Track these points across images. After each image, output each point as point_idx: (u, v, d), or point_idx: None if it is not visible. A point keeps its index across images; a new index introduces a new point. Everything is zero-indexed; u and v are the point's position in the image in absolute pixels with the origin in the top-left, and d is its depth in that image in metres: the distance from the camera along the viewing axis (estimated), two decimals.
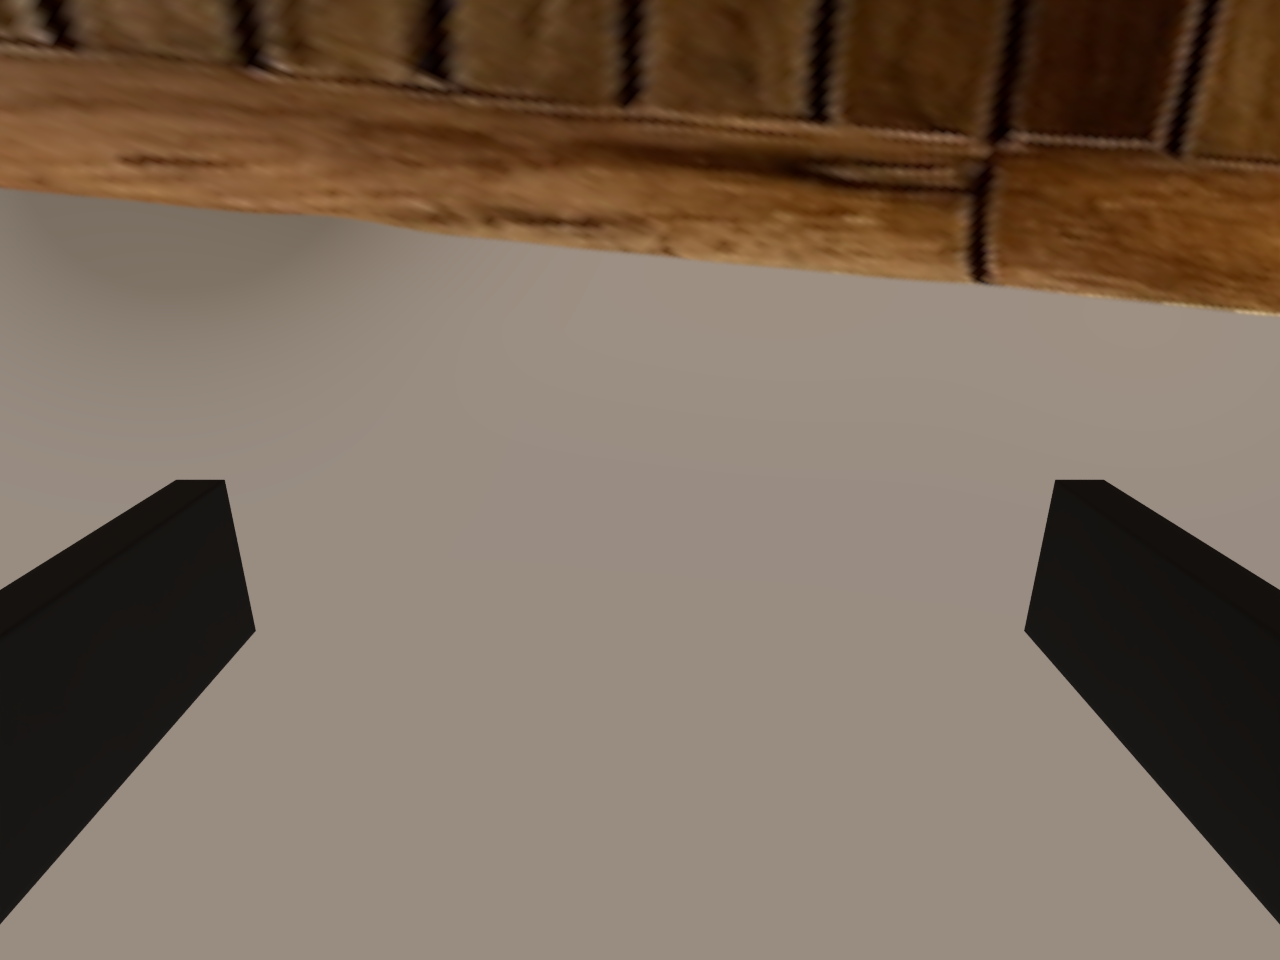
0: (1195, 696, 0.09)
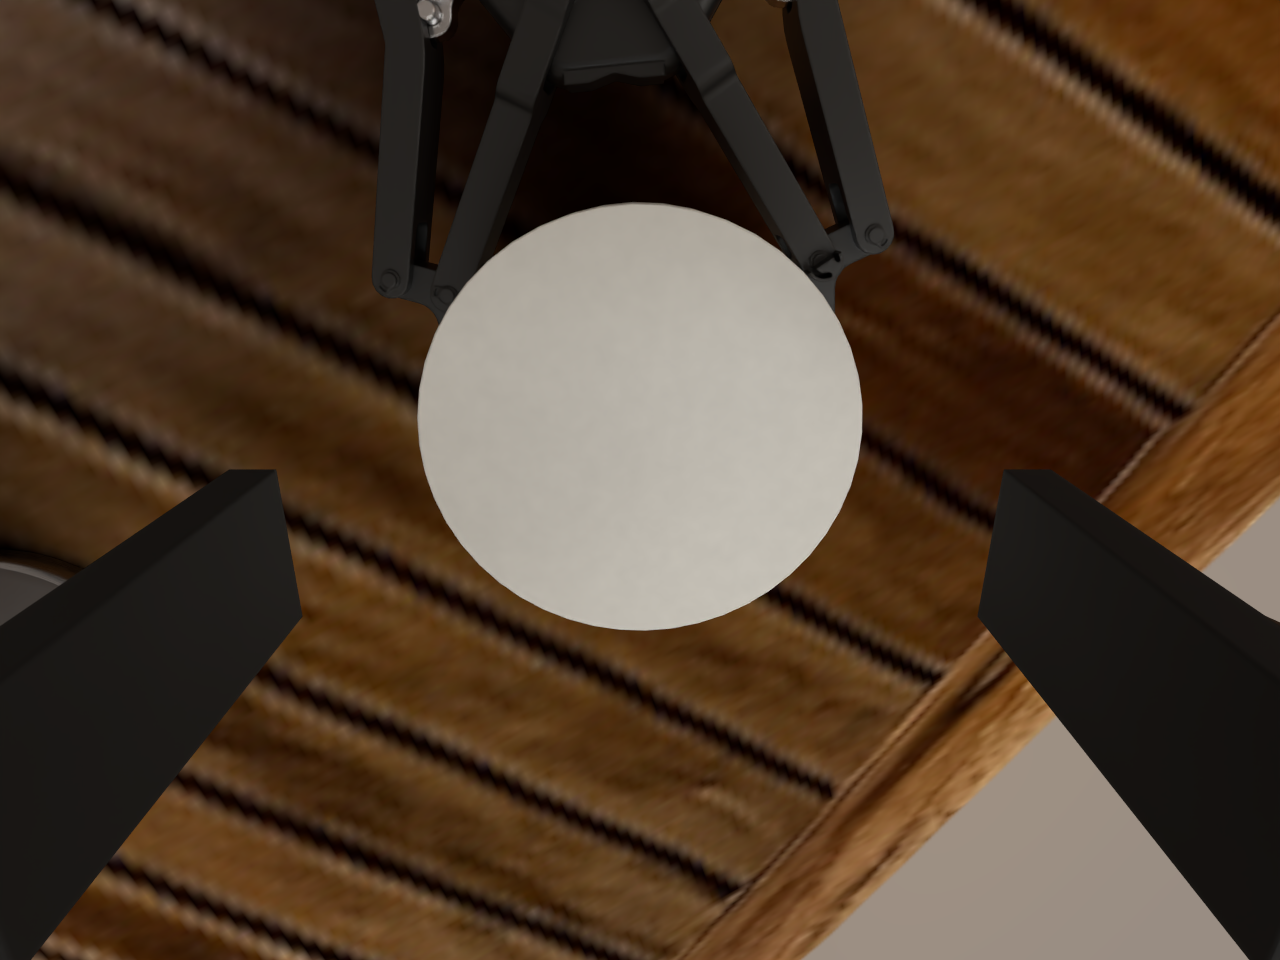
0: (1121, 673, 0.09)
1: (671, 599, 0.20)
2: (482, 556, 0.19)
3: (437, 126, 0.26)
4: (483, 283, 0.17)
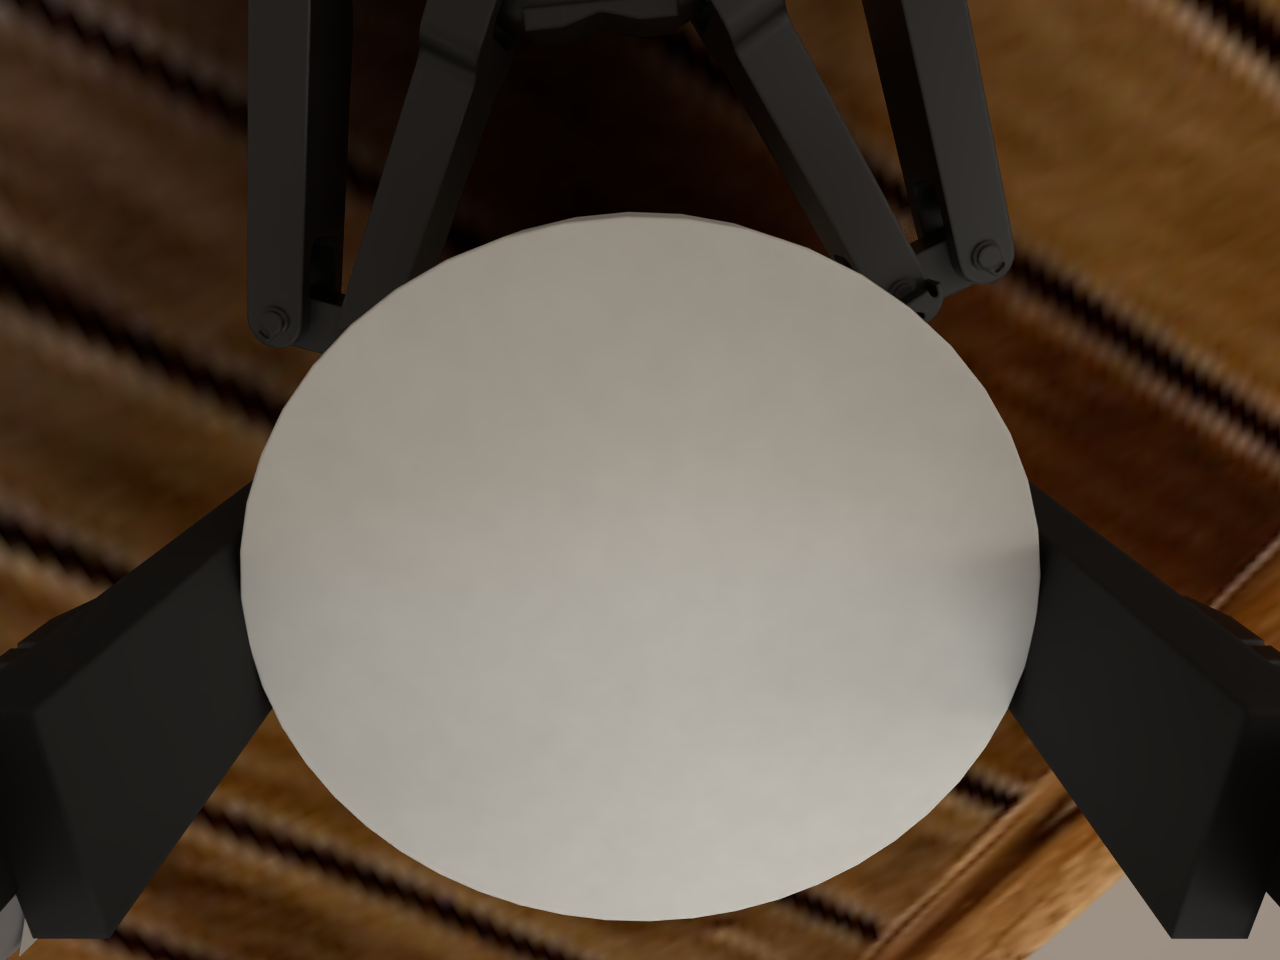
0: (1054, 654, 0.10)
1: (692, 877, 0.12)
2: (371, 814, 0.11)
3: (345, 97, 0.18)
4: (344, 366, 0.09)
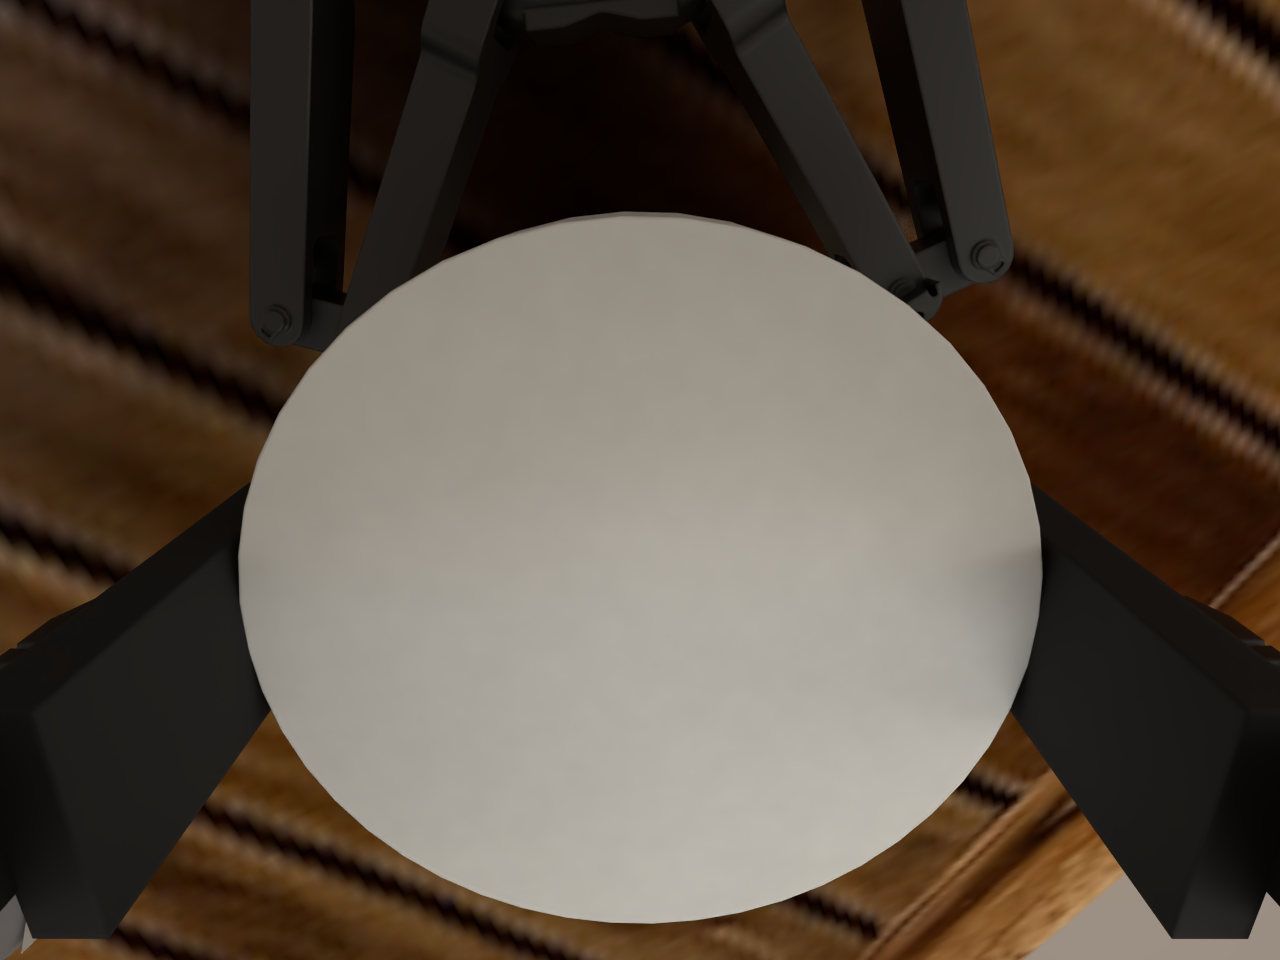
0: (1054, 654, 0.10)
1: (974, 616, 0.10)
2: (810, 878, 0.12)
3: (346, 97, 0.18)
4: (368, 810, 0.11)
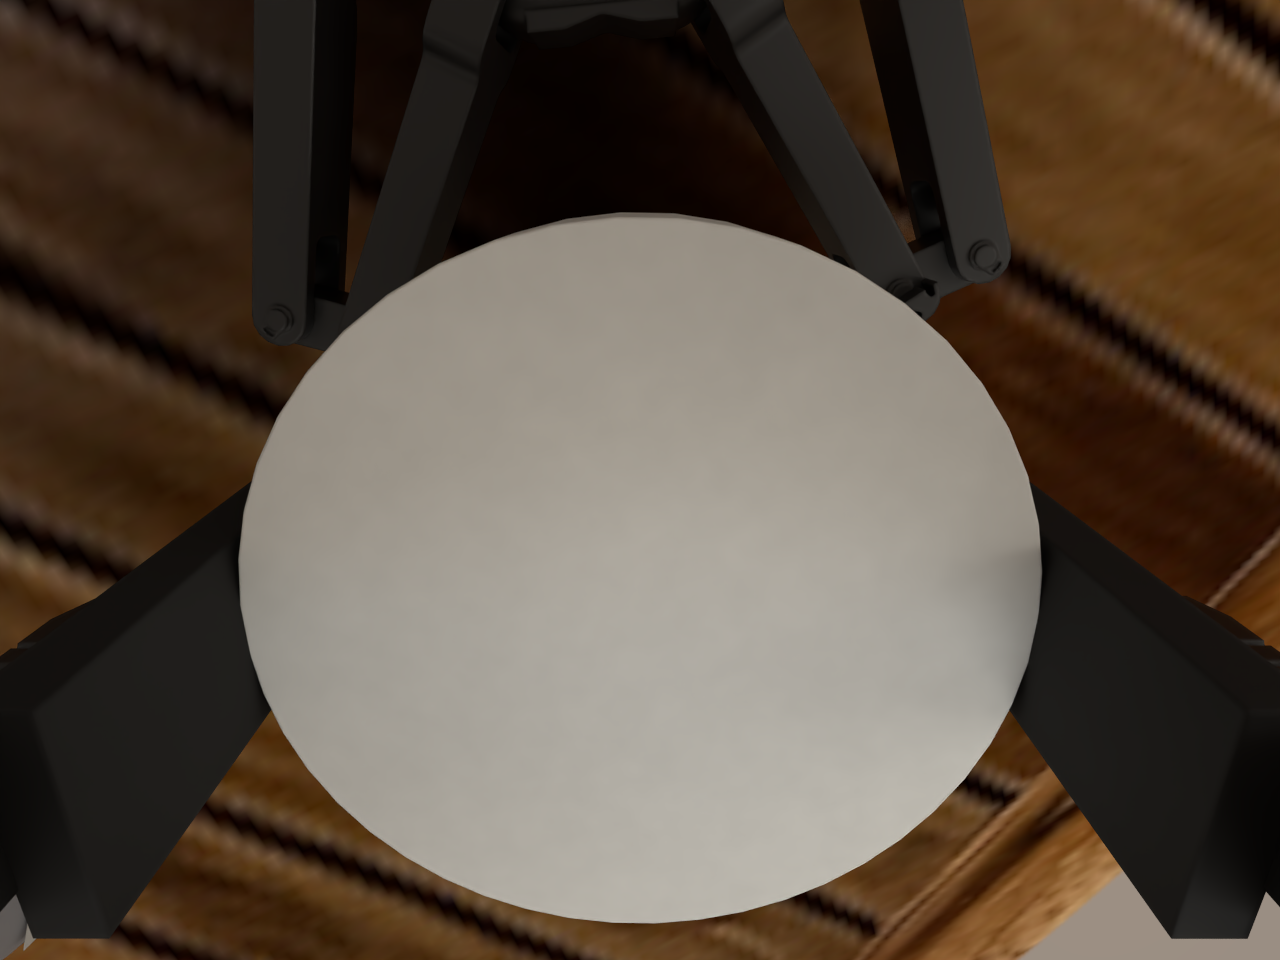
0: (1053, 653, 0.10)
1: (662, 297, 0.09)
2: (1012, 490, 0.09)
3: (349, 98, 0.18)
4: (802, 878, 0.12)
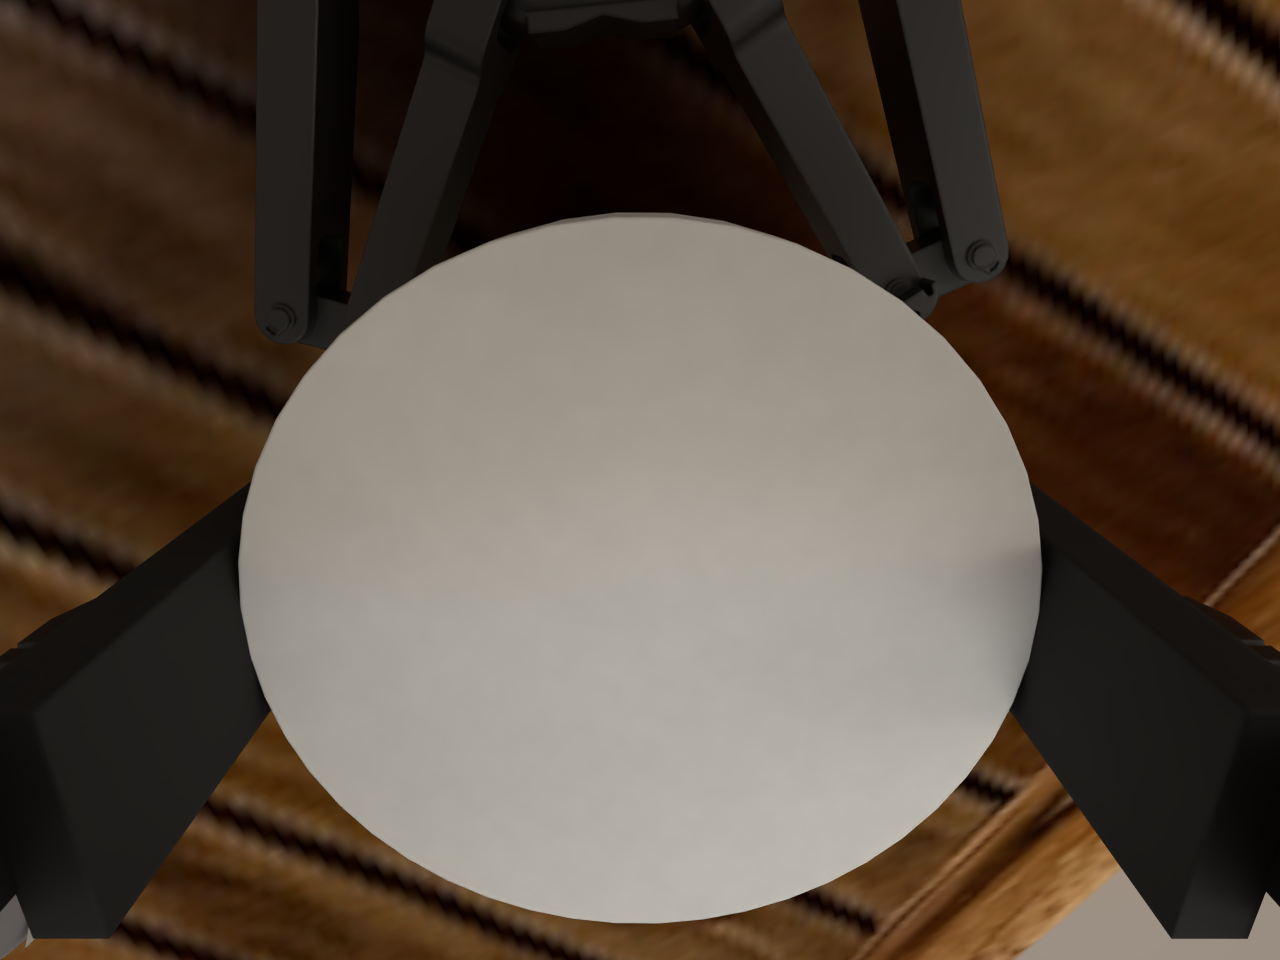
0: (1053, 654, 0.10)
1: (304, 582, 0.10)
2: (505, 259, 0.08)
3: (351, 98, 0.18)
4: (1010, 498, 0.10)
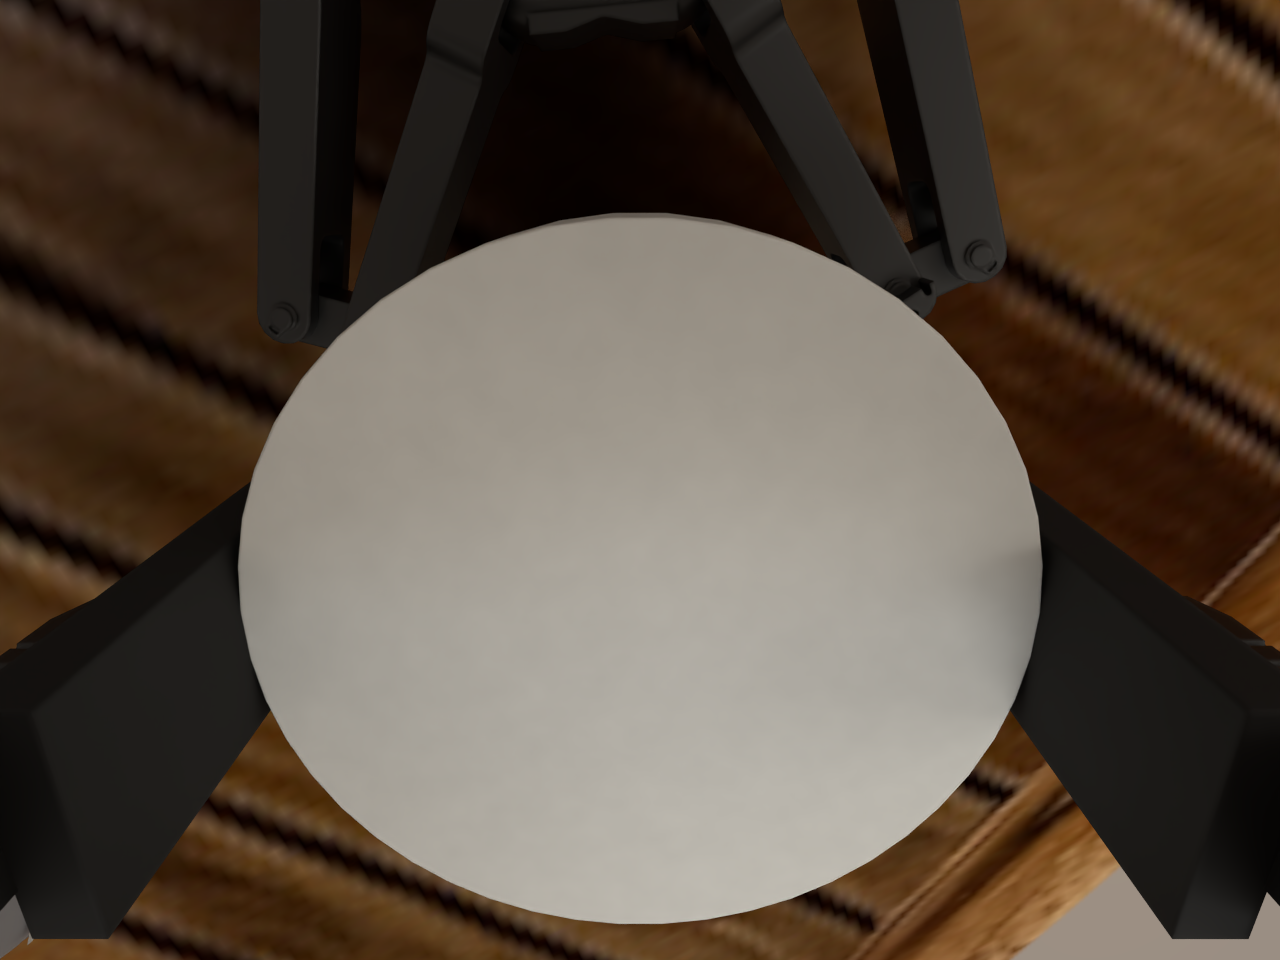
0: (1055, 654, 0.10)
1: (554, 874, 0.12)
2: (278, 691, 0.10)
3: (353, 99, 0.18)
4: (516, 261, 0.08)
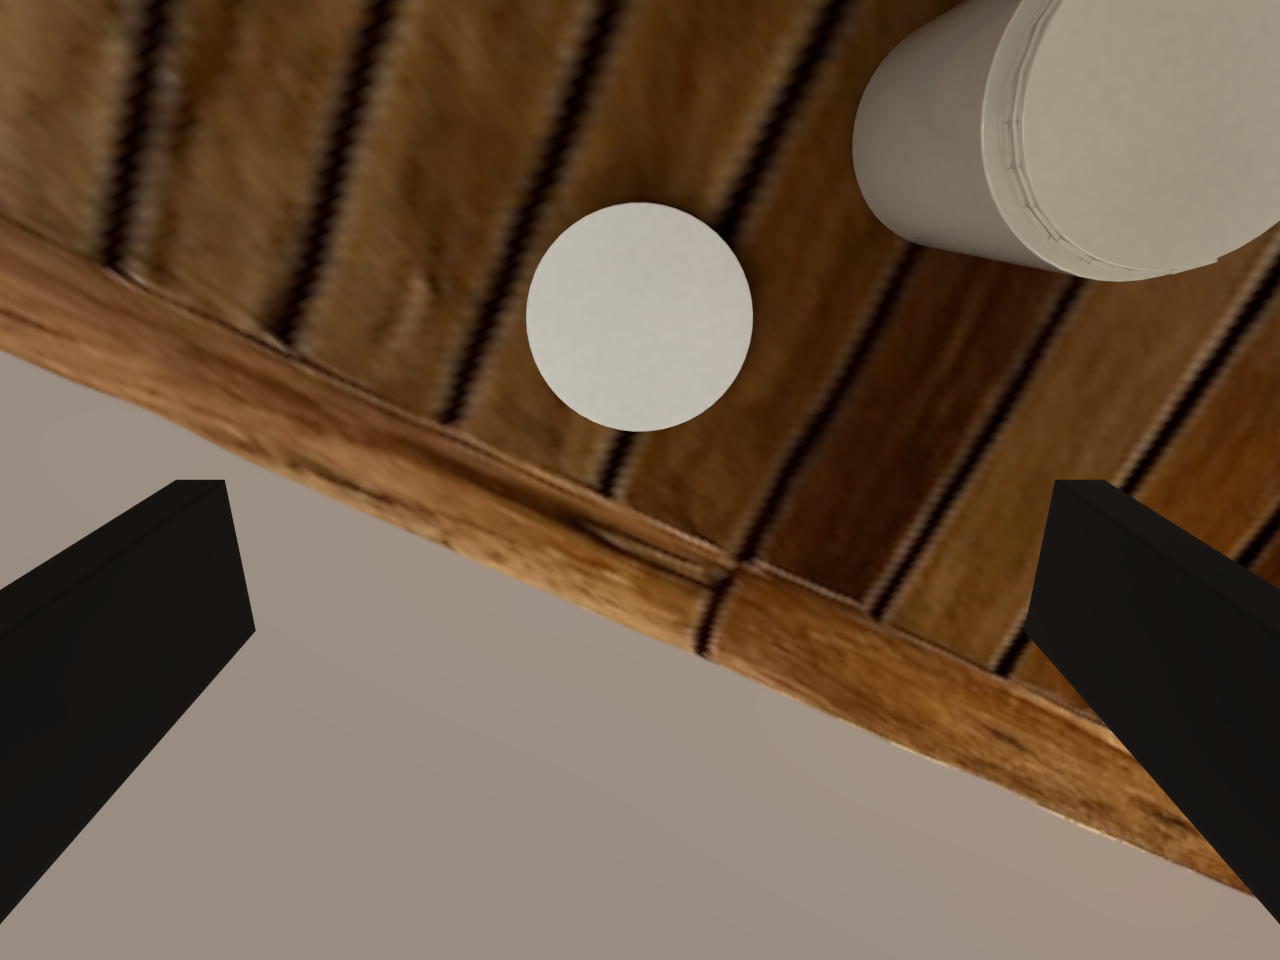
0: (1194, 696, 0.09)
1: (724, 361, 0.36)
2: (645, 426, 0.37)
3: None
4: (534, 339, 0.36)
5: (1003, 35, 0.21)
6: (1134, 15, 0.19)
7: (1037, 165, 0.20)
